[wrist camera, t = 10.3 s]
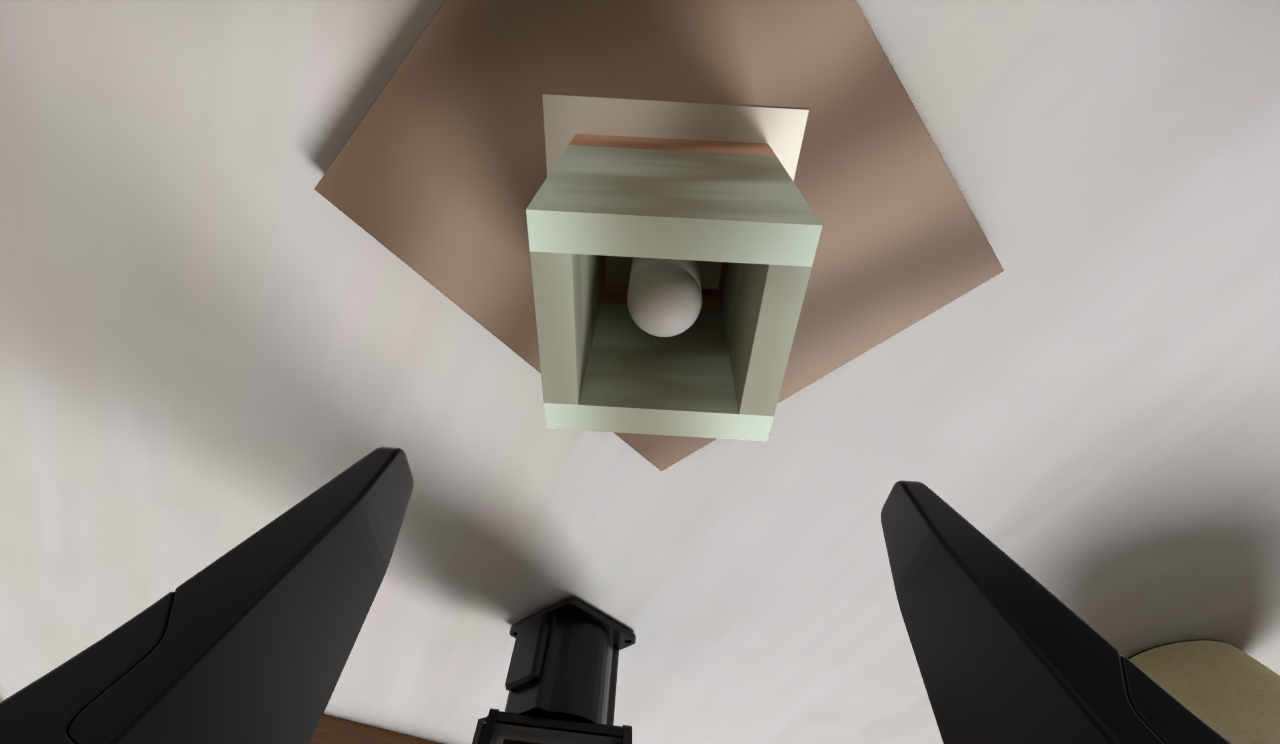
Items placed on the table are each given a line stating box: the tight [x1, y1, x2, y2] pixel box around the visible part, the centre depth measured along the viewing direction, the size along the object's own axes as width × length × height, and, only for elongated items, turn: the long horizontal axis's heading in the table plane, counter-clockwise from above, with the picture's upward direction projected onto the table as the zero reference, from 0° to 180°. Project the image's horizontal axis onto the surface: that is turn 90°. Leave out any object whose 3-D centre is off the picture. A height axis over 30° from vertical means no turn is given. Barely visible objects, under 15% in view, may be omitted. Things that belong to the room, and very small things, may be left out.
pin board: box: [315, 0, 1004, 471], centre depth 16 cm, size 18×16×7 cm
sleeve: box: [526, 134, 823, 441], centre depth 15 cm, size 6×6×7 cm
